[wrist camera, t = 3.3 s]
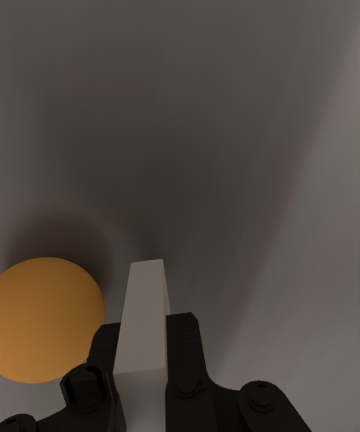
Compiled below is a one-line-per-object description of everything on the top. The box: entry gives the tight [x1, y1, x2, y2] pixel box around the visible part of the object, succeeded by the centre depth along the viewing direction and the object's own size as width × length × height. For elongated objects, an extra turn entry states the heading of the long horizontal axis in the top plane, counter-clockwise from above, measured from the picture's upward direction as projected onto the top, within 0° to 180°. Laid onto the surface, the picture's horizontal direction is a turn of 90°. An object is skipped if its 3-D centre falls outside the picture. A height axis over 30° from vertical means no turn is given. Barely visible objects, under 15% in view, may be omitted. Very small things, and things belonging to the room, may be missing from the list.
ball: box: [0, 257, 105, 383], centre depth 15 cm, size 6×6×6 cm
